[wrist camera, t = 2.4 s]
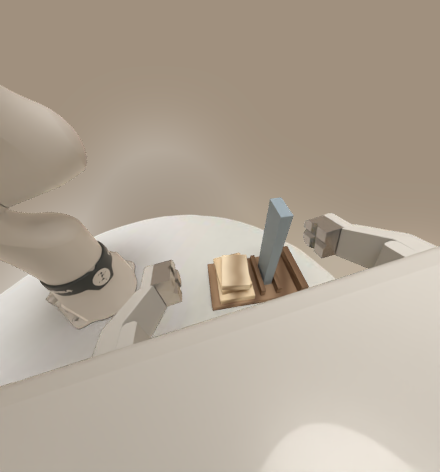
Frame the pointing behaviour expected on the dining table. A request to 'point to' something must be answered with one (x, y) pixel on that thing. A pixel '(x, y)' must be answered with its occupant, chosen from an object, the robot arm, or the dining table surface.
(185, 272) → the dining table surface
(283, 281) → the rack
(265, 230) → the tall sheet
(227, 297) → the offcut stack
